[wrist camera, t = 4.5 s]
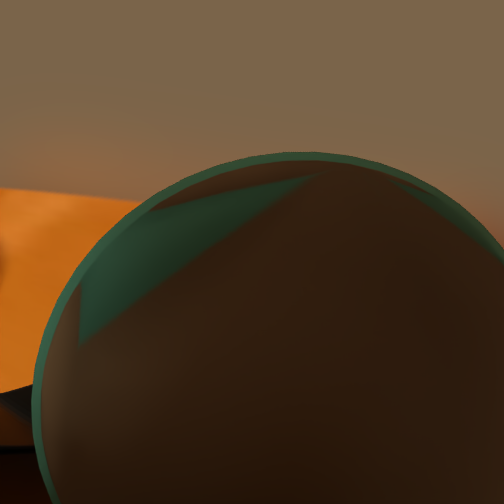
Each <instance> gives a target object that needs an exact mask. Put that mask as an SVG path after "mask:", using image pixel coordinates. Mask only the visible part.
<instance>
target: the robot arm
mask: <svg viewBox="0 0 504 504" xmlns="http://www.w3.org/2000/svg"><path fill="white" fill-rule="evenodd" d="M32 388H33V384H32V385H28V386H25V387H22V388H19V389H15V390H12V391H9V392H4V393H0V504H53V503H52V501H51V499H50V496H49V494H48V491H47V488H46V486H45V483H44V480H43V477H42V474H41V472H40V468H39V464H38V459H37V454H36V449H35V444H34V439H33V429H32V406H31V399H32Z"/></svg>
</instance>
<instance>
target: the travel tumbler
mask: <svg viewBox="0 0 504 504" xmlns="http://www.w3.org/2000/svg"><path fill="white" fill-rule="evenodd" d="M31 406H32V429H33V439H34V444H35V449H36V454H37V459H38V464H39V468H40V472H41V474H42V477H43V480H44V483H45V486H46V488H47V491H48V494H49V496H50V499H51V501H52V503H53V504H504V250H503V248H502V247H501V245H500V244H499V243H498V242H497V241H496V239H495V238H494V237H493V236H492V235H491V234H490V233H489V232H488V230H487V229H486V228H485V227H484V226H483V225H482V224H481V223H480V222H479V221H478V220H477V219H476V218H475V217H474V216H472V215H471V214H470V213H469V212H468V211H467V210H466V209H465V208H463V207H462V206H461V205H460V204H458V203H457V202H456V201H454V200H453V199H451V198H450V197H448V196H447V195H446V194H444V193H443V192H441V191H440V190H438V189H437V188H435V187H433V186H431V185H429V184H428V183H426V182H424V181H422V180H420V179H418V178H416V177H414V176H412V175H410V174H408V173H405V172H403V171H400V170H397V169H395V168H392V167H389V166H387V165H384V164H381V163H378V162H374V161H369V160H365V159H361V158H357V157H353V156H346V155H339V154H330V153H321V152H283V153H275V154H267V155H260V156H252V157H248V158H244V159H240V160H236V161H232V162H228V163H224V164H220V165H217V166H214V167H212V168H209V169H207V170H204V171H201V172H199V173H196V174H194V175H191V176H189V177H186V178H184V179H182V180H180V181H179V182H177V183H175V184H173V185H171V186H169V187H167V188H166V189H164V190H162V191H160V192H158V193H156V194H155V195H153V196H152V197H151V198H149V199H148V200H146V201H145V202H143V203H142V204H141V205H139V206H138V207H136V208H135V209H134V210H132V211H131V212H130V213H128V214H127V215H125V216H124V217H123V218H122V219H121V220H120V221H119V222H118V223H117V224H116V225H115V226H114V227H113V228H111V229H110V230H109V231H108V232H107V233H106V234H105V235H104V236H103V237H102V238H101V239H100V240H99V241H98V242H97V243H96V245H95V246H94V247H93V248H92V249H91V251H90V252H89V253H88V254H87V256H86V257H85V258H84V259H83V261H82V262H81V263H80V264H79V266H78V267H77V268H76V270H75V271H74V273H73V275H72V276H71V278H70V279H69V281H68V283H67V284H66V286H65V288H64V289H63V291H62V293H61V294H60V296H59V298H58V300H57V302H56V304H55V307H54V309H53V311H52V314H51V316H50V318H49V321H48V323H47V325H46V328H45V330H44V334H43V337H42V341H41V344H40V348H39V352H38V356H37V360H36V364H35V370H34V379H33V388H32V399H31Z"/></svg>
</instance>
